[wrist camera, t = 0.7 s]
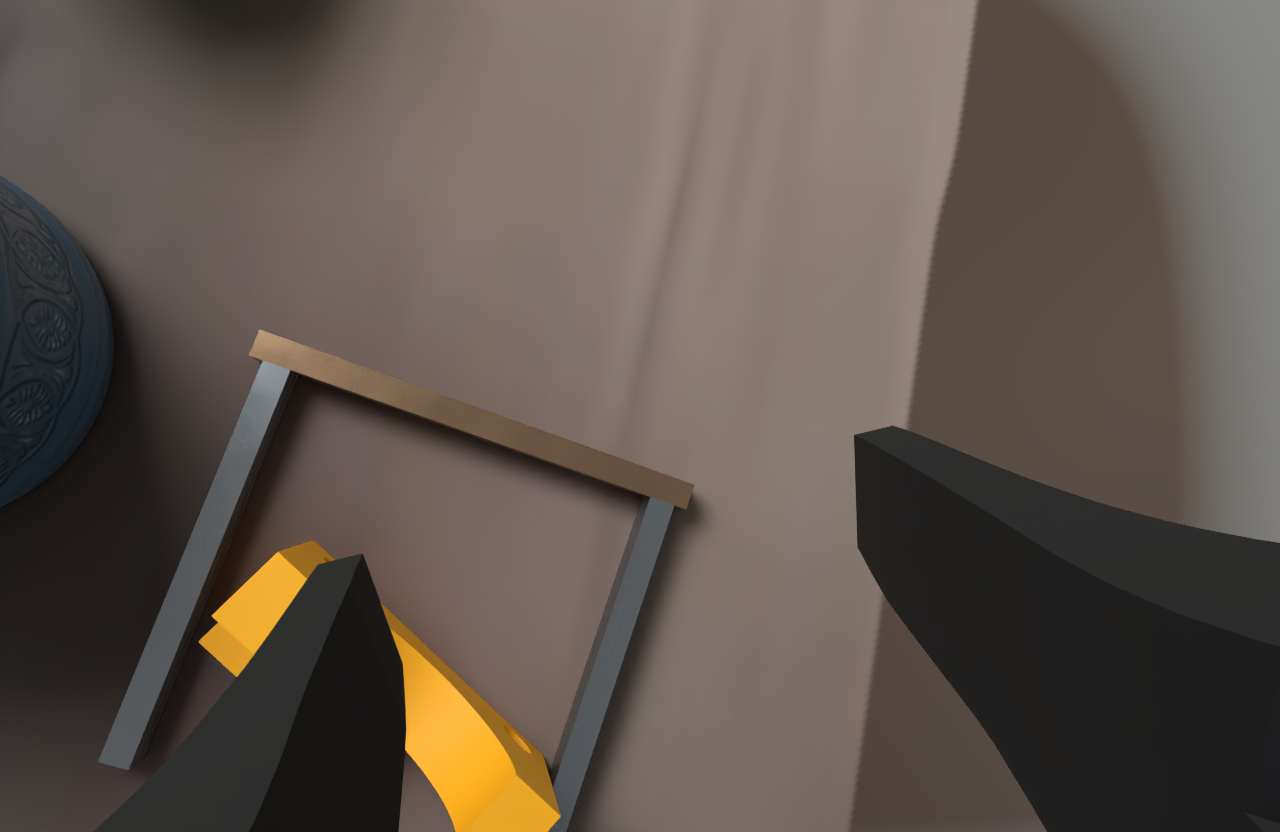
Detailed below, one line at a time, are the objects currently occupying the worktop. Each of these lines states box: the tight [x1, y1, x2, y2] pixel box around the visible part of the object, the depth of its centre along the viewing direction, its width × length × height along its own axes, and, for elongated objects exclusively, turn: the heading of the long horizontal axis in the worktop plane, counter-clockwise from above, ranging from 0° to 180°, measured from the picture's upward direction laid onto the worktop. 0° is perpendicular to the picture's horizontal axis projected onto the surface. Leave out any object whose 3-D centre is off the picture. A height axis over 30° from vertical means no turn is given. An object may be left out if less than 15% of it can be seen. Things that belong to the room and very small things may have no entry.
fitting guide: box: [98, 330, 694, 832], centre depth 32 cm, size 16×17×2 cm
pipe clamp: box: [198, 540, 561, 832], centre depth 30 cm, size 12×4×6 cm, turn 46°
